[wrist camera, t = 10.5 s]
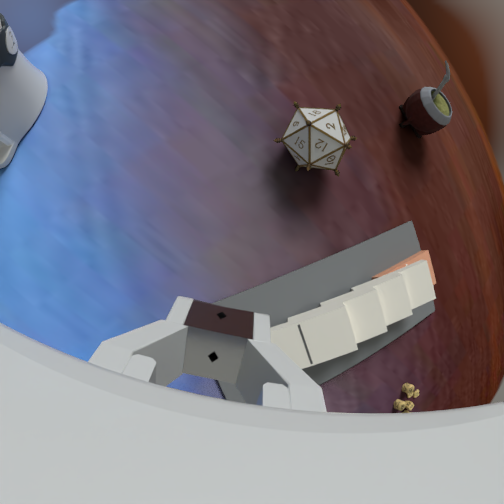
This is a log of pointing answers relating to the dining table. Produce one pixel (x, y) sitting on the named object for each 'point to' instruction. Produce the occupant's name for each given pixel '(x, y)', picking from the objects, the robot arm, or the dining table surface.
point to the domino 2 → (359, 314)
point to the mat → (332, 296)
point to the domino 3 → (387, 297)
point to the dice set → (409, 390)
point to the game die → (316, 138)
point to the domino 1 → (316, 336)
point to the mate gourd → (427, 109)
